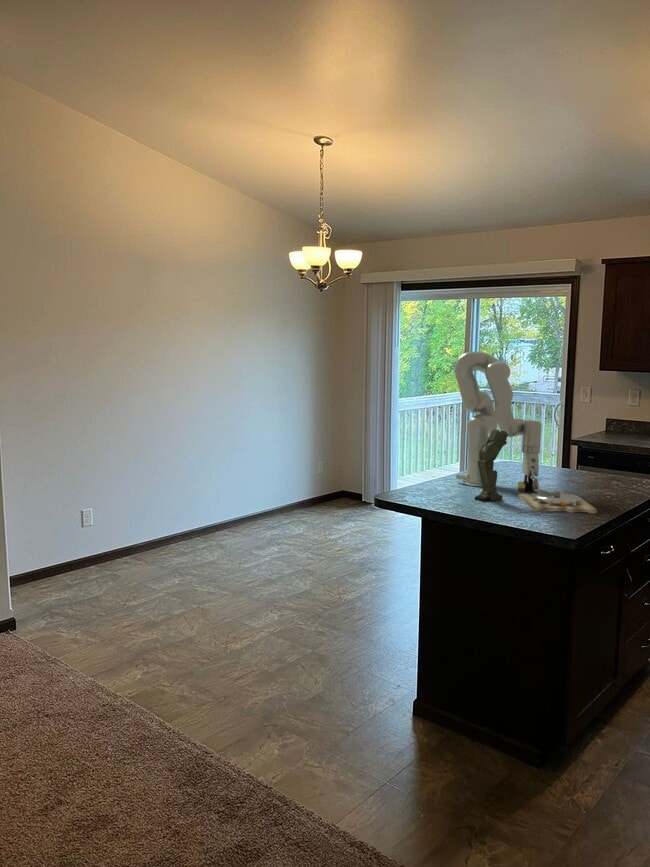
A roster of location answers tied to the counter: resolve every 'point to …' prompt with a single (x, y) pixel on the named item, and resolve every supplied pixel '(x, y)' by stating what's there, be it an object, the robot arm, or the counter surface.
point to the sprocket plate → (545, 507)
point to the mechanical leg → (490, 465)
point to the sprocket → (553, 496)
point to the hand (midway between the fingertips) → (528, 490)
